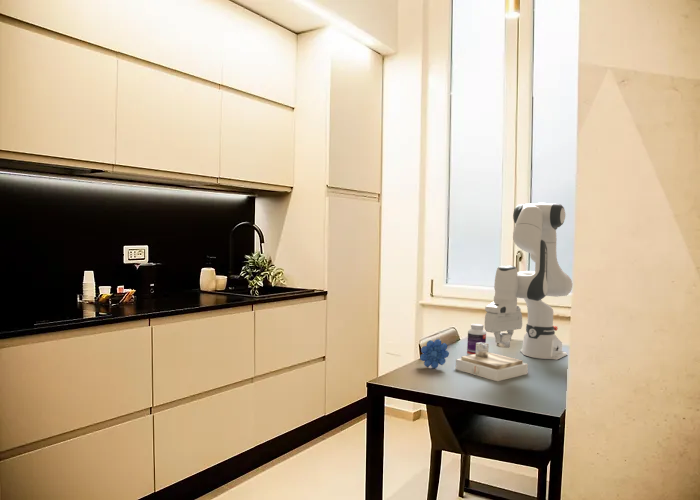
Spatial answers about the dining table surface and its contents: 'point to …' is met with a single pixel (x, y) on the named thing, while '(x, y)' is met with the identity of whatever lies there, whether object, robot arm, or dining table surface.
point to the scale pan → (492, 360)
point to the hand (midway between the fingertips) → (503, 341)
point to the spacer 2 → (504, 340)
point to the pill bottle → (475, 337)
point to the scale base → (492, 370)
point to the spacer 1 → (482, 349)
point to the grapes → (434, 353)
